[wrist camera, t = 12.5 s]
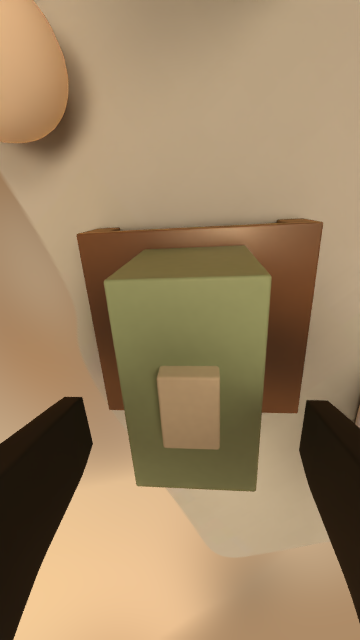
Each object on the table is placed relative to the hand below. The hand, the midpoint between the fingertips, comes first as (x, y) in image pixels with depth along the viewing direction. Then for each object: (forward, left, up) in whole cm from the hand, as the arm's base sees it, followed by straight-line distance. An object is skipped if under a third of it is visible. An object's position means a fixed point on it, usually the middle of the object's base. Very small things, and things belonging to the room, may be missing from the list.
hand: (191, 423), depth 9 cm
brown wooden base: (0, 0, -10) cm, 10 cm away
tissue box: (0, 0, -7) cm, 7 cm away
